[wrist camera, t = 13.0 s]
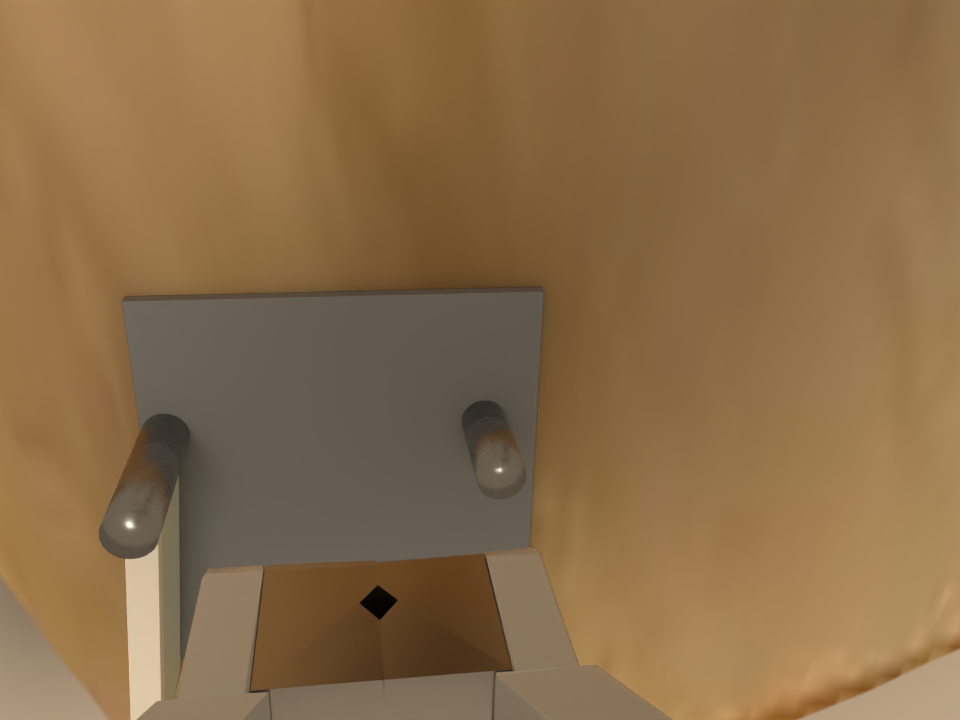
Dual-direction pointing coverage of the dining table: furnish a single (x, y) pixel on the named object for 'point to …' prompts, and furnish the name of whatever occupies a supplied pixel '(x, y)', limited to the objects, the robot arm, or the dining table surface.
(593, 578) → the dining table surface
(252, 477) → the yard mat
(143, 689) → the cream plank
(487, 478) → the posts
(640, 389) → the dining table surface
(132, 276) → the dining table surface
